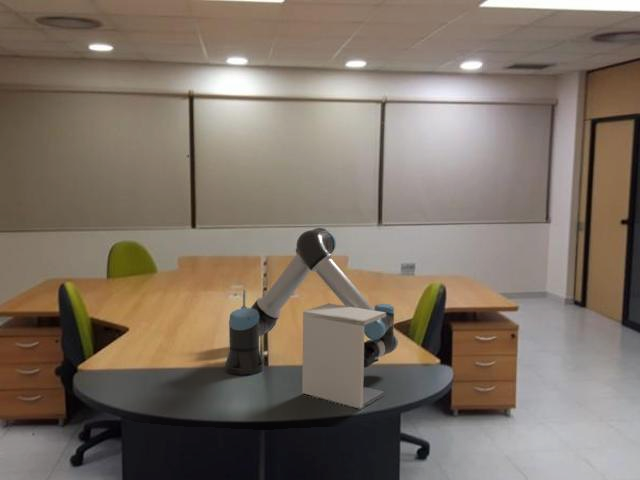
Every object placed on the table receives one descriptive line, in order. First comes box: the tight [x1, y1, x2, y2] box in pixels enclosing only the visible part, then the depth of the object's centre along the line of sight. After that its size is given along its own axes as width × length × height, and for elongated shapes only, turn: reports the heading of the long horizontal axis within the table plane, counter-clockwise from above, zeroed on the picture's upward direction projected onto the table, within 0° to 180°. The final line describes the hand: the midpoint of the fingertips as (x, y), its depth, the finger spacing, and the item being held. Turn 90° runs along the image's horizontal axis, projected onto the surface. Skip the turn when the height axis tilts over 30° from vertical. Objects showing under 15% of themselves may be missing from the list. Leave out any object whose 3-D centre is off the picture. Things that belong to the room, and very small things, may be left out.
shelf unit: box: [301, 303, 386, 408], centre depth 215 cm, size 16×24×30 cm, turn 55°
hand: (337, 365), depth 212 cm, fingers closed on bottle, 7 cm apart
